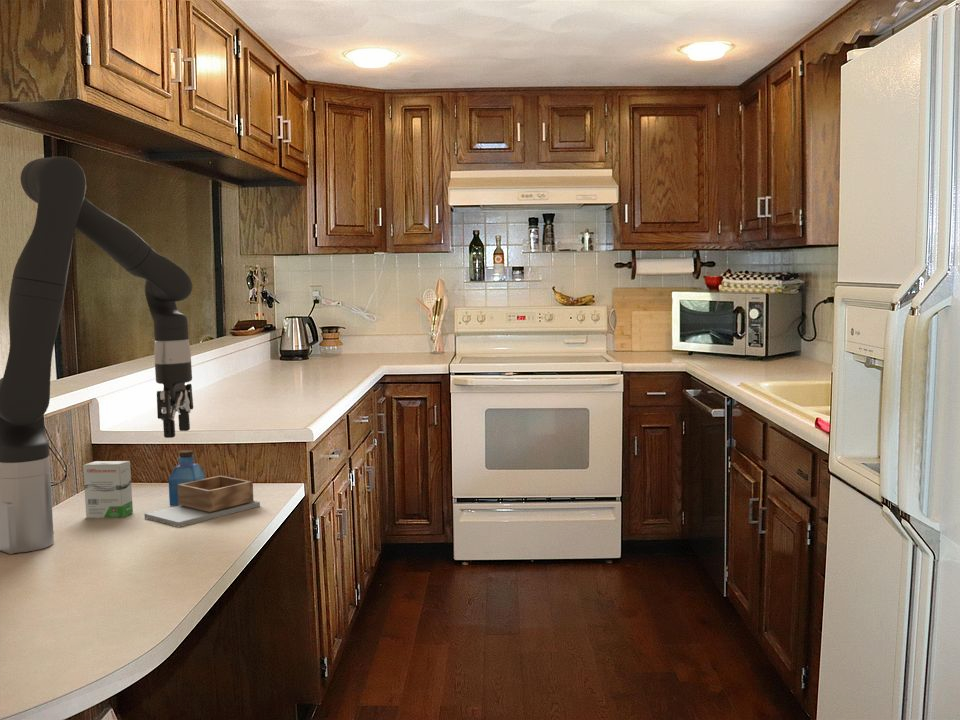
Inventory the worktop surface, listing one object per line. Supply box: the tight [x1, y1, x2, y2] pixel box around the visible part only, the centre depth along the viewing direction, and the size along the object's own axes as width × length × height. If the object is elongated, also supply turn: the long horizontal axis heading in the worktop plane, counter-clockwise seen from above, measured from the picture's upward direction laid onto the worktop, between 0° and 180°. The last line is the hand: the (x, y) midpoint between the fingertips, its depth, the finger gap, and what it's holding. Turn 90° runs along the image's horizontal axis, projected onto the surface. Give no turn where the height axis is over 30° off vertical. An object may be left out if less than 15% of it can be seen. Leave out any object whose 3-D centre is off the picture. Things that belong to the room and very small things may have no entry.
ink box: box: [82, 460, 134, 519], centre depth 190 cm, size 9×5×12 cm, turn 84°
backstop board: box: [144, 482, 261, 527], centre depth 192 cm, size 21×12×5 cm, turn 143°
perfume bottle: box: [168, 449, 206, 506], centre depth 201 cm, size 6×6×12 cm
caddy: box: [177, 475, 254, 512], centre depth 194 cm, size 12×12×4 cm
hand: (177, 433), depth 191 cm, fingers open, 8 cm apart
